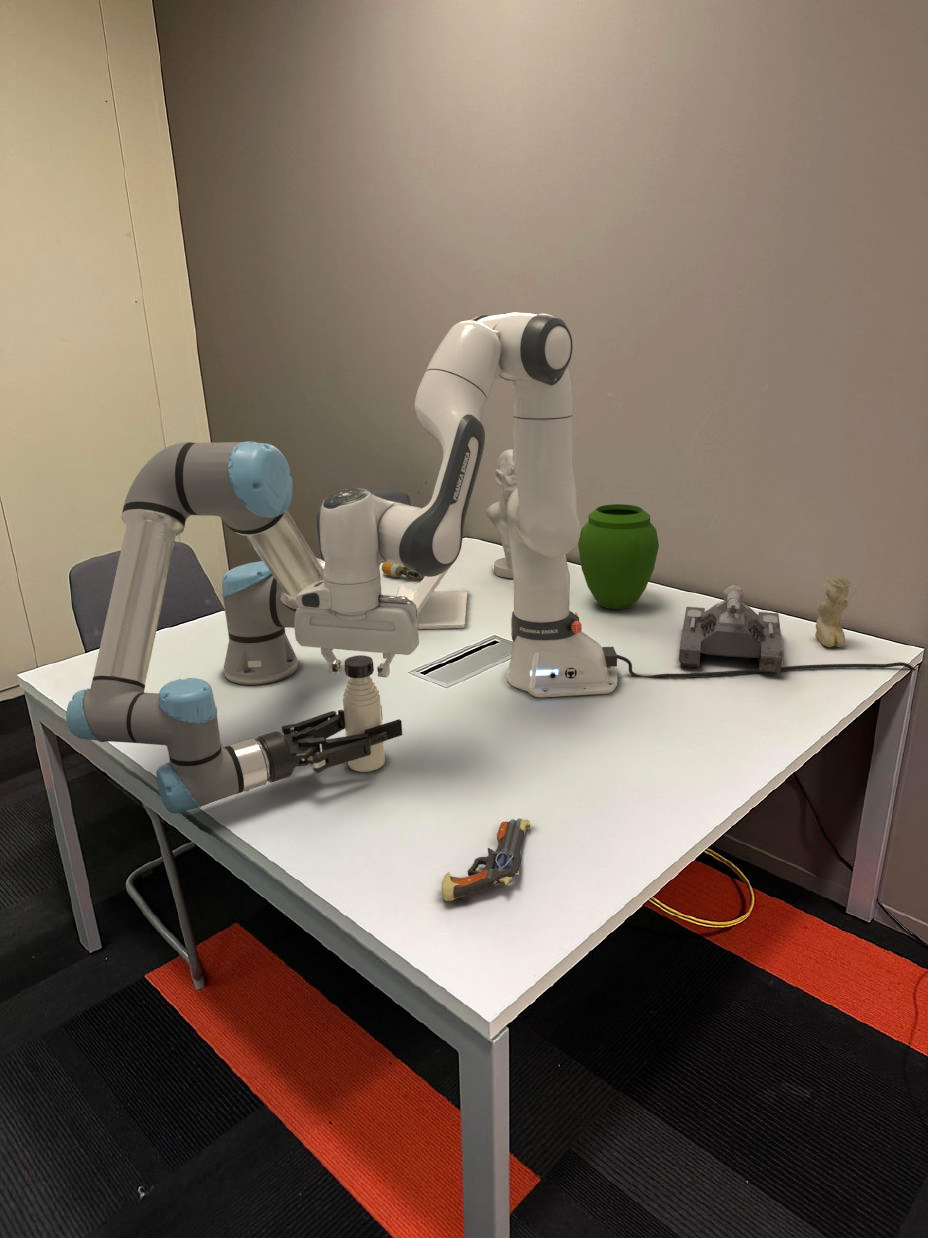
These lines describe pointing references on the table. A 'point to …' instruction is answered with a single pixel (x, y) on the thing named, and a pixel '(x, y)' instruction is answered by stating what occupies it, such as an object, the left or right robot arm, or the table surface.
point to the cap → (359, 666)
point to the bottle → (363, 719)
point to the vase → (618, 554)
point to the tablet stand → (436, 604)
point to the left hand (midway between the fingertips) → (390, 719)
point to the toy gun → (491, 863)
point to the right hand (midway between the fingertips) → (359, 673)
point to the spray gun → (398, 570)
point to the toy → (732, 633)
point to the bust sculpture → (503, 510)
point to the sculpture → (832, 613)
